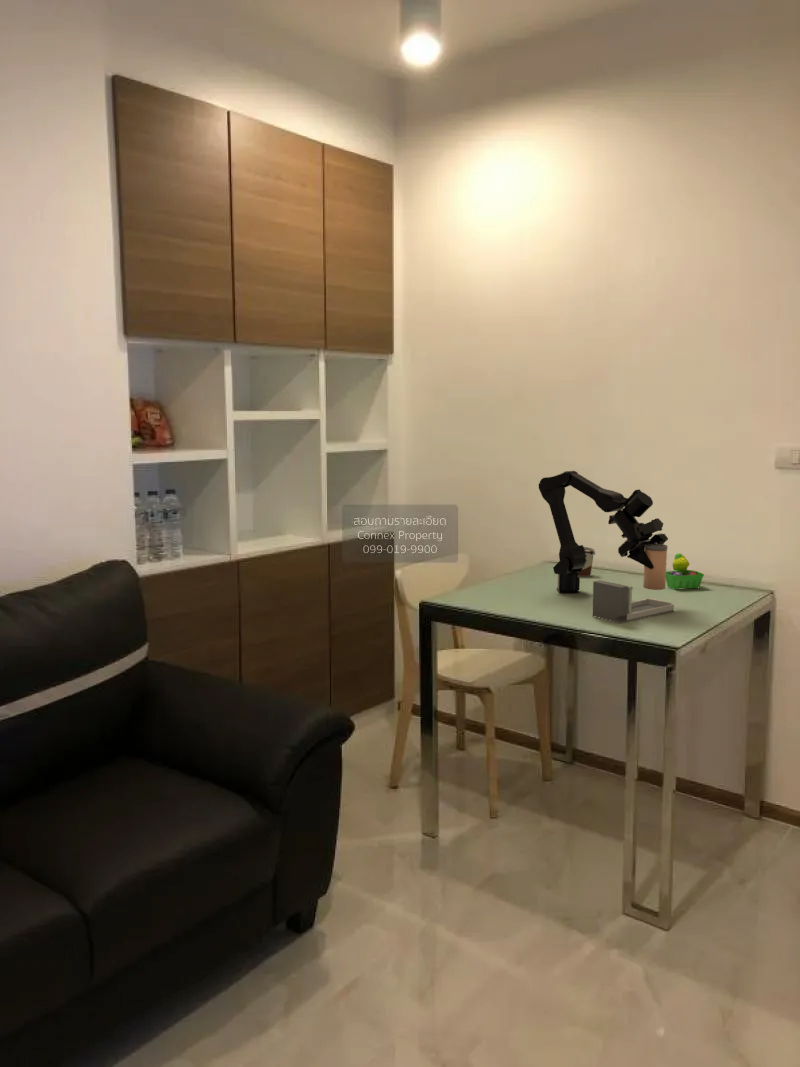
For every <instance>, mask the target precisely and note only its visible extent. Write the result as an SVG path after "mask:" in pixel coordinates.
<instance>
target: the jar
mask: <svg viewBox="0 0 800 1067" xmlns="http://www.w3.org/2000/svg"><path fill="white" fill-rule="evenodd" d="M645 553H646V554H647V556H648V558H649V559H650V561H651V562H652V564H653V566H654V568H653V569H650V568H648V567H646V566H644V565H643V582H642V583H643V585H642V587H643V588H644V589H646V590H651V591H652V590H653V591H661V590H666V582H667V581H666V572H667V565H666V563H667V559H668V558H667V556H668V545H667V544H665V543H664V544H645Z"/></svg>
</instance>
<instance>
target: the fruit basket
mask: <svg viewBox="0 0 800 1067" xmlns="http://www.w3.org/2000/svg"><path fill="white" fill-rule="evenodd" d="M689 566H690V562H689V560H688V559H687V558H686V557H685V555H684V554H682V553H679V552H678V553H676V554H675V556H674V560H673V562H672V568H673V570H670V571H666V581H665V582H666V584H667V587H668V586H669V587H668V588H670V587H671V588H670V589H672V588H674V589H678V590H680V589H679V588H698V587H699V588H700V586H701V584H702V580H703V578H704V576H705V573H702V572H699V571H697V570H691V569H688V567H689ZM699 588H698V589H699ZM674 589H673V590H674Z"/></svg>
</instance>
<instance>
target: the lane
mask: <svg viewBox="0 0 800 1067" xmlns="http://www.w3.org/2000/svg"><path fill="white" fill-rule="evenodd" d="M592 583H593V585H592V586H593V587H592V613H591V614H592V615H591V616H592V617H593V616H596V617H595V618H597V617H600V618H599V619H601V618H603V619H602V620H605V619H607V620H606V621H609V620H611V621H610V622H613V621H614V623H616V622H618V624H622V622H624V623H627V621H628V622H632V621H631V620H633V621H636V619H637V620H641V619H645V618H644V617H646V618H650V617H654V615H655V616H659V615H663V613H664V614H668V613H671V612H674V610H675V604H672V602H669V601H665V600H661V599H660V600H659V599H655V598H652V597H651V598H650V597H648V598H642V599H638V600H632V607H631V613H628V614H627V602H628V586H629V585H627V586H625V584H622V585H620V584H621V583H617V584H615V583H616V582H613V583H612V582H611V581H605V580H601V579H600V580H596V581H595V580H594V581H593V582H592ZM649 616H650V617H649ZM640 618H641V619H640Z"/></svg>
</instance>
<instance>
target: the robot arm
mask: <svg viewBox="0 0 800 1067" xmlns="http://www.w3.org/2000/svg"><path fill="white" fill-rule="evenodd" d="M570 486H571V487H572V488H574V489H575V490H577V491H579V492H580V493H582V494H583V495H585V496H587V497H588V498H590V499H591V500H593V501H594V503H595V505H596V507H598V508H599V509H600V510H601V511H603V512H604V513H612V512H614V514H611V515H609V516H608V518H609V519H608V522H607V523H608V525H613V524H616V525H617V527H618V528H619V530H620V531H621V532H622V534H621V535H620V536H621V538H622V539H624V538H626V540H624V542H623V543H622V544H620V546H619V547H618V549H617V552H618V554H619V556H620V557H621V558H623V557H624V558H625V557H627V558H628V559H631V560H633V561H635V562H637V563H639V564H640V565H643V567H644V566H646V567H648V568H650V569H653V568H654V566H653V564H652V562H651V561H650V559H649V558H648V556H647V554H646V553H645V544H664V545H665V543H666V542H667V541H668V540H669V537H668V536H667V535H666V533H661V531H663V527H664V522H662V521H661V519H660V518H659V517H657V518H655V519H651V520H650V521H649V522H646V523H644V522H639V521H638V520H637V519H636V518H640V517H642V516H643V515H644V514H645V513H646V512H647V511H648V510H649V509H650V508H651V507H652V506H653V504H654V502H653V498H652V497H651V496H649V495H648V494H647V493H645V492H643V491H642V490H641V489H635V490H634V491H633V492H632V493H631V495H630V496H629V497H628V498H627V497H625V496H624V495H623V494H622V493H620V492H617V491H615V490H612V489H611V490H610V489H607V488H603V487H601V486H599V485H598V484H597V483H594V482H593V481H591V480H589V479H587V478H586V477H584V476H582V475H581V474H579V473H578V472H577V471H576V470H567V471H566V470H565V471H564V472H561V473H560V474H557V475H554V476H547V477H542V478H541V479H540V481H539V483H538V490H539V492H540V495H541V496H542V498H543V500H544V501H545V502H546V503H547V504H548V506H549V508H550V509H549V510H550V512H551V516H552V520H553V523H554V525H555V530H556V534H557V536H558V540H559V545H560V548H559V553H558V559H559V561H558V562H557V563H556V564H555V565H554V566H553V573H554V575H557V587H556V590H557V592H558V593H560V594H566V593H567V594H569V593H572V594H575V593H576V594H577V593H579V592H580V586H581V585H580V584H581V582H580V580H581V579H580V576H578V573H579V572H582V569H583V566H584V565H585V563H586V557H587V556H586V554H585V551H584V547H585V546H584V545H583V544H581V545H579V543H577V542H576V540H575V536H574V532H573V529H572V525H571V521H570V518H569V515H568V511H567V508H566V504H565V501H564V500H565V495H566V488H567V487H570ZM656 532H660V533H656ZM654 533H656V534H654ZM667 565H668V564H667V562H666V566H667Z"/></svg>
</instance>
